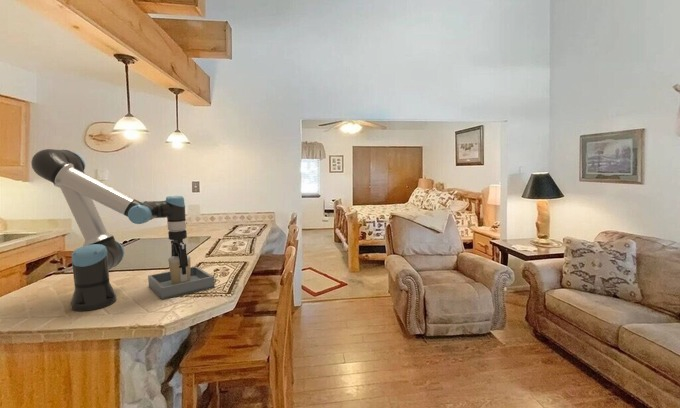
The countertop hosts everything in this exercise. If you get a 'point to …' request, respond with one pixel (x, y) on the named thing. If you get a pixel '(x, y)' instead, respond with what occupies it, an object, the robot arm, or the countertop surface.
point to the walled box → (166, 290)
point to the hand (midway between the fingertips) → (180, 278)
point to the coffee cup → (177, 269)
